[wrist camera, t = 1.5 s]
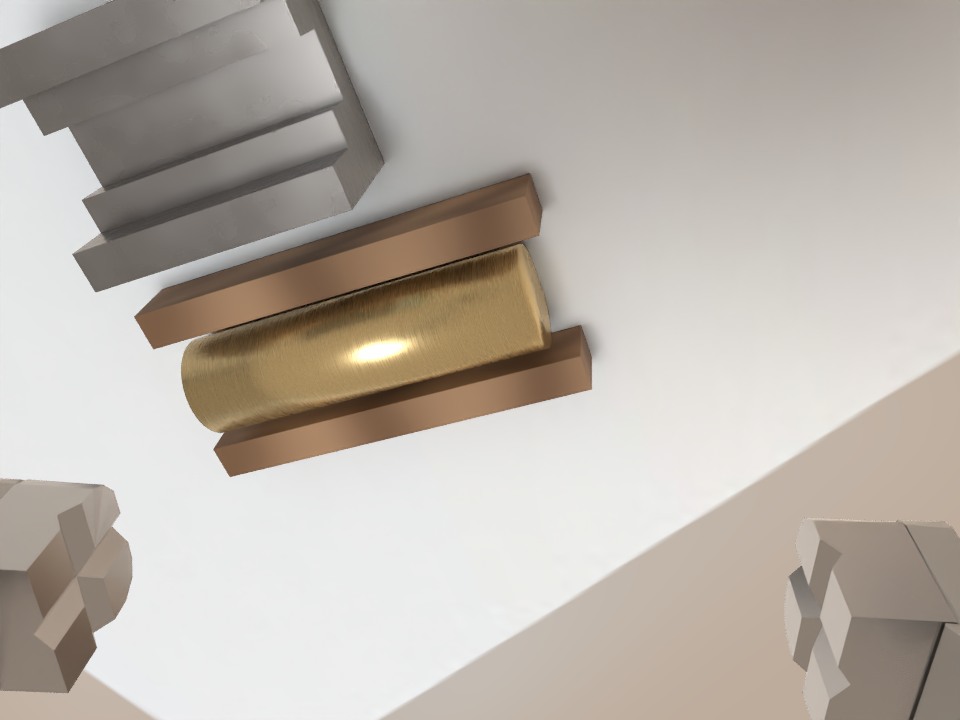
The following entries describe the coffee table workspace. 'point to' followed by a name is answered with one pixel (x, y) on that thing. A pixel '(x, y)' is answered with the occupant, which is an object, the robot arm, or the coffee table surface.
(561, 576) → the coffee table surface
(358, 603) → the coffee table surface
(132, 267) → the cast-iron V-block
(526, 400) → the copper channel
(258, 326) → the brass rod
